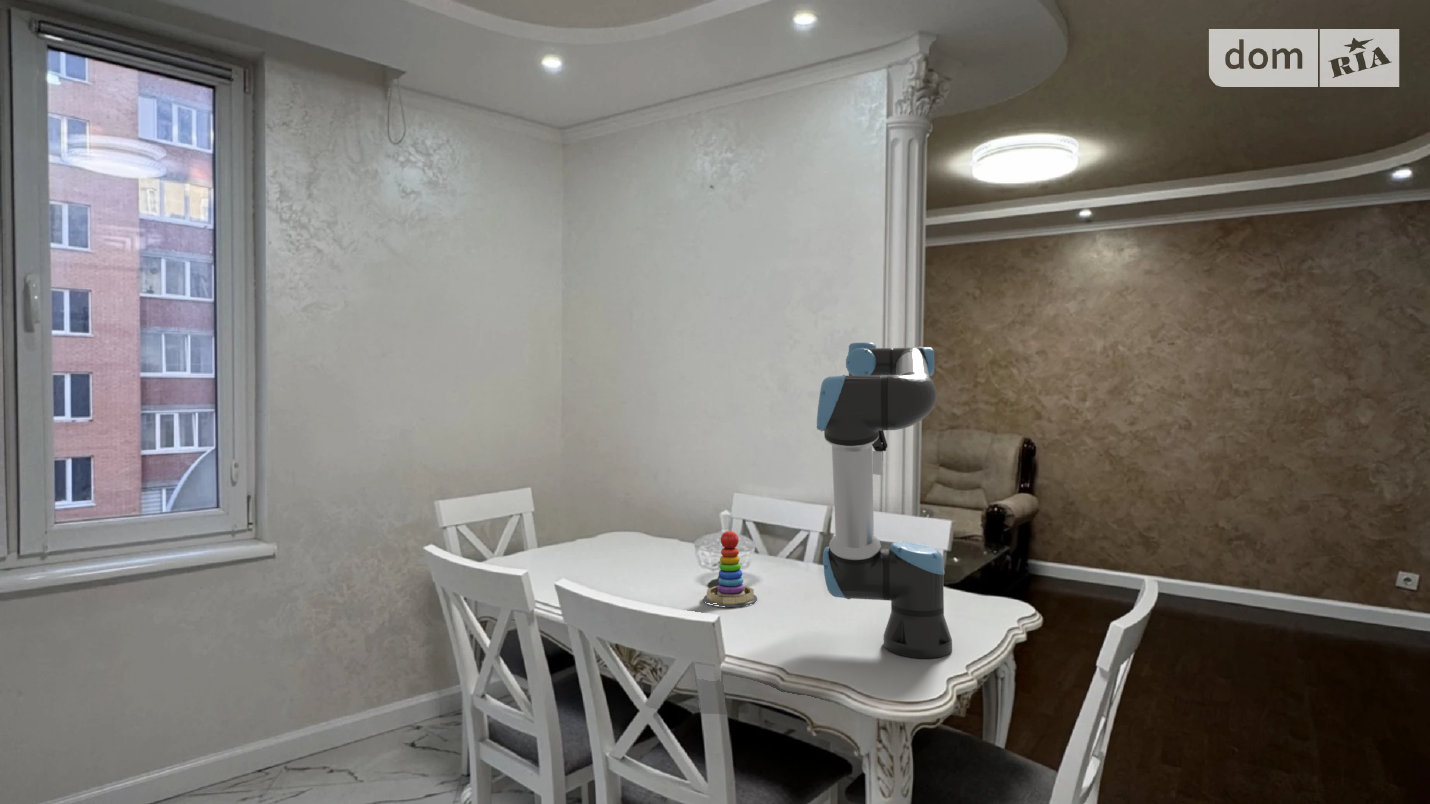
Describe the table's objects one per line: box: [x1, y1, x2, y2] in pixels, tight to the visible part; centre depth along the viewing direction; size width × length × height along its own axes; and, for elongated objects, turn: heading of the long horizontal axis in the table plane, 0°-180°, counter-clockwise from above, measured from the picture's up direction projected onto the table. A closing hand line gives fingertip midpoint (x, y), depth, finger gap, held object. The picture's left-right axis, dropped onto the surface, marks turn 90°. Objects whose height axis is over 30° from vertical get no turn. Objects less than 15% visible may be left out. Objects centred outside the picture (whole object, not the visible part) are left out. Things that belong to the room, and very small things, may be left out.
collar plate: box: [703, 585, 758, 608], centre depth 213 cm, size 15×15×3 cm
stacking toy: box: [716, 530, 745, 596], centre depth 212 cm, size 8×8×19 cm
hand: (863, 476), depth 208 cm, fingers open, 13 cm apart
